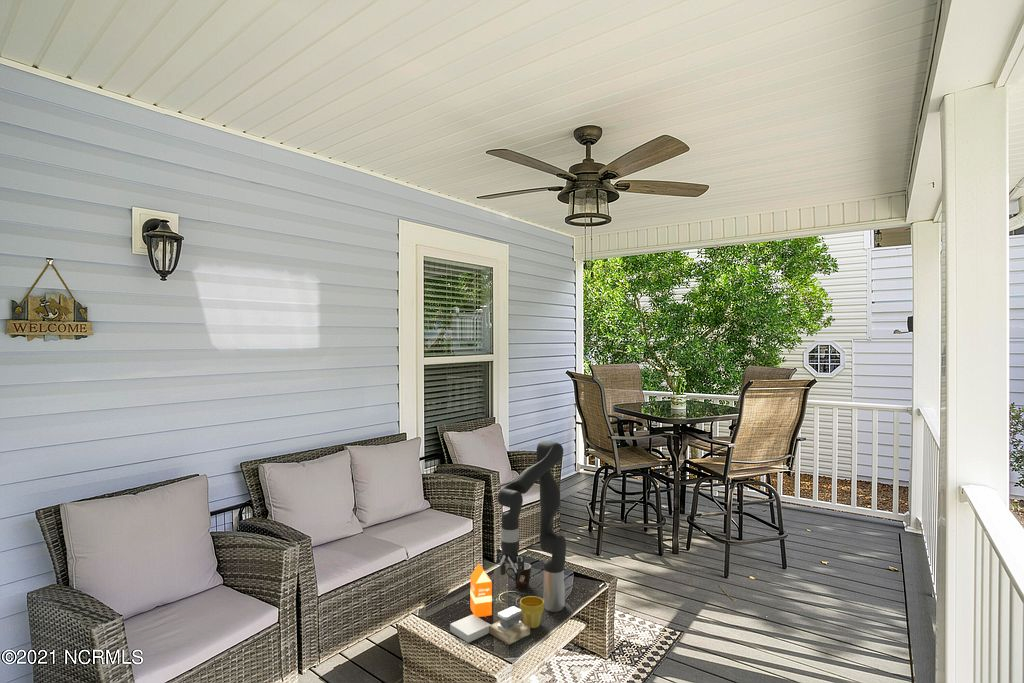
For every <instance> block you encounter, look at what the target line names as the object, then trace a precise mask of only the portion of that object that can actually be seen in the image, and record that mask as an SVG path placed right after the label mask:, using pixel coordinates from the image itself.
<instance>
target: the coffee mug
mask: <svg viewBox="0 0 1024 683" xmlns="http://www.w3.org/2000/svg"><path fill="white" fill-rule="evenodd" d="M516 568H517V566H516ZM517 569H518V568H517ZM509 570H512V572H513V573H514V574H515V570H514V568H512V567H508V568H506V575H507V576H508V577H509V578H510V579H512V580H513V581H514V582H515V588H516V589H518V590H527V589H529V586H530V581H531V580H530V579H531V572H532V565H531V564H530V563H527V562H524V571H523V572H520V580H519V581H518V582H516V581H515V577H513V576H511V575H510V574H509V573H508V571H509Z"/></svg>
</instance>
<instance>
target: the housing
mask: <svg viewBox="0 0 1024 683" xmlns="http://www.w3.org/2000/svg"><path fill="white" fill-rule="evenodd" d="M520 614H521V615H522V610H521V609H520V607H516V606H515V605H512V606H510V607H508V608H505V609H504V610H501V611H499V612H497V617H499V618H500V619H499V621H500V624H498V628H499V629H501V630H502V631H504V632H508V631H510V630H512V629H514V628H516V627H518V626H520V625H522V622H523V621H521V620H520Z"/></svg>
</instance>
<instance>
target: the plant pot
mask: <svg viewBox="0 0 1024 683" xmlns="http://www.w3.org/2000/svg"><path fill="white" fill-rule="evenodd" d="M519 609H521V610H522V613H521V615H522V622H523V623H525V624H526V625H528V626H530V629H537V628H539V627H540V624H541V619H542V616H543V615H542V614H543V612H544V611H545V609H544V600H543V598H542V597H540V596H535V595H532V596H531V595H530V596H525V597H522V598H520V600H519Z"/></svg>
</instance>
